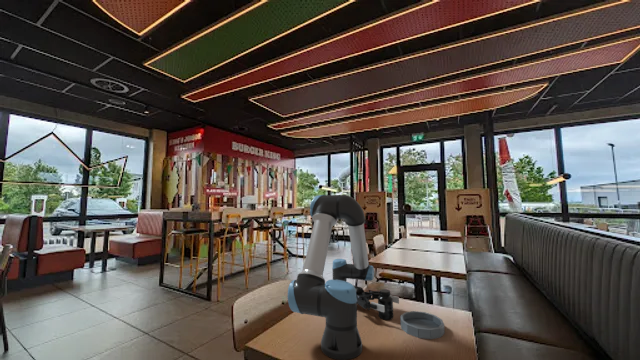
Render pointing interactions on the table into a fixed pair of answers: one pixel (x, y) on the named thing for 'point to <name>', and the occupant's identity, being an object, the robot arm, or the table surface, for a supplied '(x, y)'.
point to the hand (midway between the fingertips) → (391, 304)
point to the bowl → (422, 325)
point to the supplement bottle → (386, 304)
